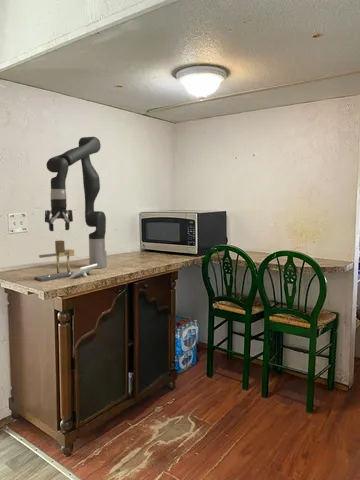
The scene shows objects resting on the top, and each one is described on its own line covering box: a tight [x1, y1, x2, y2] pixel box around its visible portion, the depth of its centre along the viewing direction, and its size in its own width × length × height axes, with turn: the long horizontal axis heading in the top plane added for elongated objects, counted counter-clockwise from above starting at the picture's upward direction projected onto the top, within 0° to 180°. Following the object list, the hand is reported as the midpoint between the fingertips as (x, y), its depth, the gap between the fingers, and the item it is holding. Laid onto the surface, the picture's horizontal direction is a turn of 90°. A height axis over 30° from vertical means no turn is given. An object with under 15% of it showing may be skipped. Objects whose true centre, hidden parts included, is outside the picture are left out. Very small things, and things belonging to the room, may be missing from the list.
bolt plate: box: [33, 271, 75, 282], centre depth 191 cm, size 20×8×2 cm, turn 139°
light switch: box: [69, 264, 97, 279], centre depth 195 cm, size 8×5×14 cm
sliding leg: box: [54, 240, 66, 274], centre depth 190 cm, size 3×5×17 cm, turn 49°
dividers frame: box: [38, 248, 75, 273], centre depth 189 cm, size 18×5×12 cm, turn 139°
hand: (59, 230), depth 188 cm, fingers open, 8 cm apart
